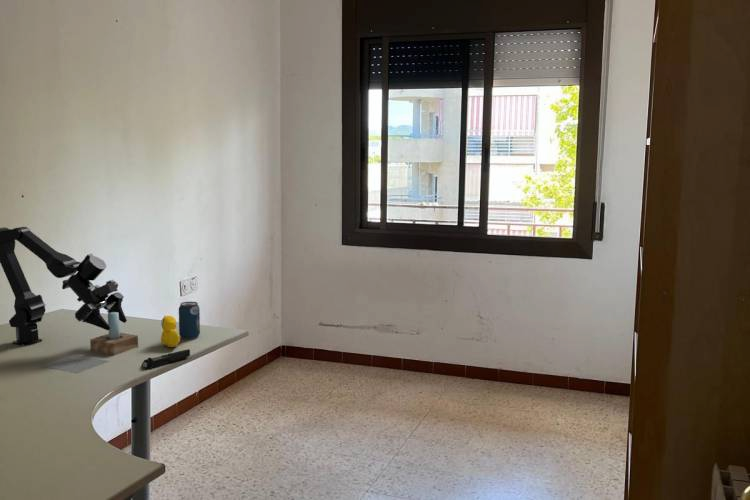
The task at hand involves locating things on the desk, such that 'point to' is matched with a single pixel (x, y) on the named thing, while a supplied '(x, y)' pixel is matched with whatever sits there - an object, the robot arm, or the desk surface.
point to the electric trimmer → (165, 359)
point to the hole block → (114, 344)
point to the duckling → (169, 332)
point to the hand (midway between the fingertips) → (117, 325)
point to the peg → (113, 325)
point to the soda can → (189, 320)
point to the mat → (75, 363)
